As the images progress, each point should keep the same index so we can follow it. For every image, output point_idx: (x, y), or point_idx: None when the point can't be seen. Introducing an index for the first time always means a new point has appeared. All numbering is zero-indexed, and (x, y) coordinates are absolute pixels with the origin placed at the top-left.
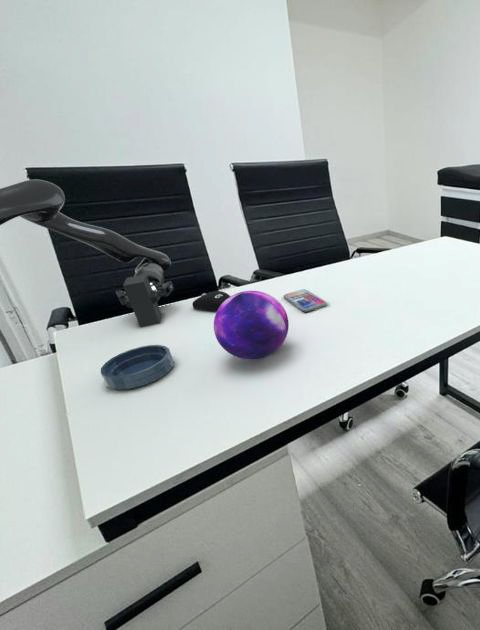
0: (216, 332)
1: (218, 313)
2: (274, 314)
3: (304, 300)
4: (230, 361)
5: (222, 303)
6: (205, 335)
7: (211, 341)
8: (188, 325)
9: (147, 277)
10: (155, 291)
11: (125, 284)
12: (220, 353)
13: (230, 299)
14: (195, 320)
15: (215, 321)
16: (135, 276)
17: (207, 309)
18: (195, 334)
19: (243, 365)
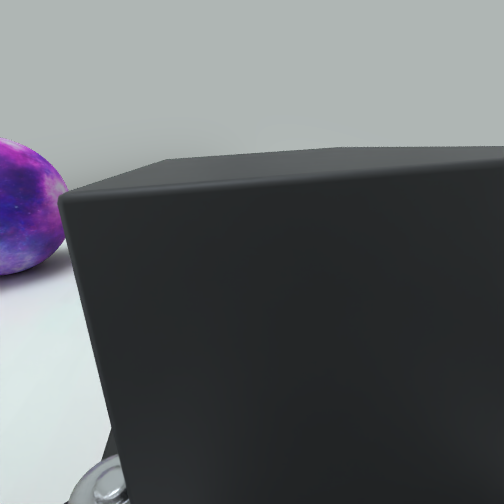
0: (66, 186)
1: (42, 157)
2: None
3: None
4: (69, 266)
5: (18, 148)
6: (55, 335)
7: (59, 310)
8: (67, 417)
9: (89, 306)
10: (116, 462)
11: (327, 148)
12: (70, 280)
13: (4, 139)
14: (5, 466)
15: (55, 170)
16: (409, 162)
17: None
18: (78, 346)
19: (59, 259)
